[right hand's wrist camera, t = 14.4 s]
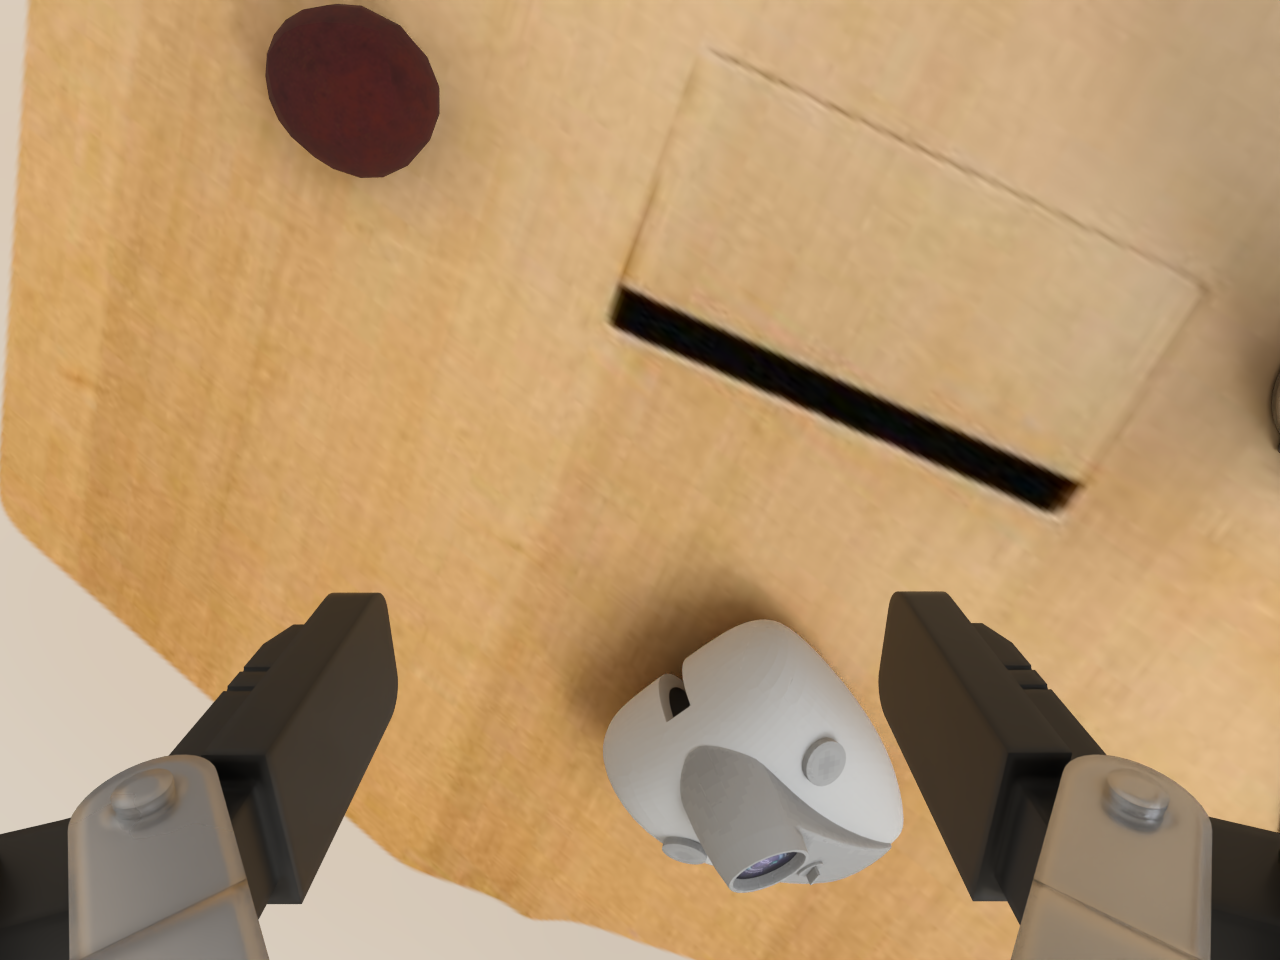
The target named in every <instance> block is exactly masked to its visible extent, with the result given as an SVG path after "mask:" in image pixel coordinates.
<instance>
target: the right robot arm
mask: <svg viewBox="0 0 1280 960" xmlns="http://www.w3.org/2000/svg"><path fill="white" fill-rule="evenodd" d="M1272 414H1273V419H1274V423H1275V425H1276V427H1277V429H1278V431H1279V433H1280V372H1279V374H1278V377H1277V380H1276V382H1275V386H1274V390H1273V395H1272ZM1278 452H1279V453H1280V445H1279V448H1278ZM397 691H398V676H397V669H396V662H395V655H394V649H393V642H392V635H391V629H390V622H389V615H388V609H387V604H386V600H385V598H384V596H383V595H382V594H381V593H331V594H329V595H328V596H327V597H326V598H325V599H324V600H323V602H322V603H321V604H320V605H319V607H318V608H317V609H316V610H315V612H314V613H313V614H312V616H311V617H310V618H309V619H308V621H307V622H306V623H305V624H304V625H292V626H291V627H289V628H287V629H286V630H284V631H283V632H281V633H280V634H278V635H277V636H275V637H274V638H272V639H271V640H269V641H267V642H266V643H264V644H263V645H262V646H261V648H260V649H259V650H258V651H257V652H256V653H255V655H254V656H253V657H252V658H251V659H250V661H249V662H248V663H247V664H246V665H245V666H244V671H243V672H239V673H238V675H237V676H236V677H235V678H234V679H233V681H232V682H231V683H230V684H229V685H228V689H227V691H223V692H222V693H221V695H220V696H219V697H218V698H217V699H216V701H215V702H214V703H213V704H212V705H211V707H210V708H209V709H208V710H207V711H206V712H205V713H204V715H203V716H202V717H201V718H200V719H199V721H198V722H197V723H196V724H195V725H194V727H193V728H192V729H191V730H190V731H189V732H188V734H187V735H186V736H185V737H184V738H183V739H182V741H181V742H180V743H179V744H178V745H177V746H176V748H175V749H174V750H173V751H172V752H171V754H170V755H169V756H164V757H160V758H156V759H152V760H149V761H146V762H143V763H140V764H138V765H135V766H133V767H131V768H128V769H126V770H124V771H123V772H120V773H119V774H117V775H115V776H113V777H112V778H110V779H109V780H107V781H105V782H104V783H103V784H101V785H100V786H99V787H97V788H96V789H95V790H94V791H92V792H91V793H90V794H89V795H88V796H87V797H86V798H85V799H84V800H83V801H82V802H81V804H80V805H79V806H78V807H77V809H76V810H75V812H74V813H73V815H72V817H71V818H68V819H64V820H60V821H56V822H52V823H47V824H43V825H39V826H34V827H30V828H26V829H22V830H17V831H13V832H8V833H4V834H0V960H269V957H268V953H267V950H266V946H265V943H264V939H263V935H262V932H261V928H260V925H259V921H258V919H259V918H260V916H261V914H262V912H263V910H264V908H265V906H266V904H302V902H303V900H304V898H305V896H306V894H307V892H308V890H309V888H310V886H311V883H312V881H313V879H314V877H315V875H316V873H317V871H318V869H319V867H320V865H321V863H322V861H323V859H324V857H325V854H326V852H327V850H328V848H329V846H330V844H331V842H332V840H333V838H334V836H335V834H336V832H337V830H338V827H339V825H340V823H341V821H342V819H343V817H344V815H345V813H346V811H347V809H348V807H349V805H350V803H351V800H352V798H353V796H354V794H355V792H356V790H357V788H358V786H359V784H360V782H361V780H362V778H363V775H364V773H365V771H366V769H367V767H368V765H369V763H370V761H371V759H372V757H373V755H374V753H375V751H376V748H377V746H378V744H379V742H380V740H381V738H382V736H383V734H384V732H385V730H386V728H387V726H388V724H389V721H390V719H391V717H392V715H393V712H394V709H395V705H396V699H397ZM879 695H880V701H881V706H882V709H883V713H884V715H885V717H886V719H887V722H888V724H889V726H890V728H891V730H892V732H893V734H894V736H895V738H896V740H897V743H898V745H899V747H900V749H901V751H902V753H903V755H904V757H905V759H906V762H907V764H908V766H909V768H910V770H911V772H912V774H913V776H914V778H915V780H916V783H917V785H918V787H919V789H920V791H921V793H922V795H923V797H924V799H925V801H926V804H927V806H928V808H929V810H930V812H931V814H932V816H933V818H934V820H935V823H936V825H937V827H938V829H939V831H940V833H941V835H942V837H943V839H944V841H945V844H946V846H947V848H948V850H949V852H950V854H951V856H952V858H953V860H954V863H955V865H956V867H957V869H958V871H959V873H960V875H961V877H962V879H963V881H964V884H965V886H966V888H967V890H968V892H969V894H970V896H971V898H972V900H973V901H1008V903H1009V905H1010V907H1011V909H1012V911H1013V913H1014V915H1015V916H1016V918H1017V920H1018V922H1019V924H1020V928H1019V932H1018V935H1017V939H1016V943H1015V946H1014V950H1013V953H1012V957H1011V960H1280V833H1277V832H1272V831H1268V830H1264V829H1259V828H1255V827H1251V826H1246V825H1242V824H1238V823H1233V822H1229V821H1225V820H1220V819H1216V818H1212V817H1208V815H1207V813H1206V812H1205V810H1204V809H1203V807H1202V806H1201V805H1200V803H1199V802H1198V801H1197V800H1196V799H1195V798H1194V797H1193V796H1192V795H1191V794H1190V793H1189V792H1188V791H1186V790H1185V789H1184V788H1183V787H1181V786H1180V785H1179V784H1177V783H1176V782H1175V781H1173V780H1171V779H1170V778H1168V777H1167V776H1165V775H1163V774H1161V773H1160V772H1158V771H1156V770H1154V769H1152V768H1149V767H1147V766H1145V765H1142V764H1140V763H1137V762H1134V761H1131V760H1128V759H1124V758H1120V757H1116V756H1109V755H1106V754H1105V753H1104V751H1103V750H1102V749H1101V748H1100V747H1099V745H1098V744H1097V743H1096V742H1095V741H1094V740H1093V738H1092V737H1091V736H1090V735H1089V734H1088V732H1087V731H1086V730H1085V729H1084V728H1083V726H1082V725H1081V724H1080V723H1079V722H1078V721H1077V719H1076V718H1075V717H1074V716H1073V715H1072V713H1071V712H1070V711H1069V710H1068V709H1067V707H1066V706H1065V705H1064V704H1063V703H1062V702H1061V700H1060V699H1059V698H1058V697H1057V696H1056V694H1055V693H1054V692H1053V691H1052V690H1051V689H1048V688H1047V684H1046V683H1045V681H1044V680H1043V679H1042V678H1041V677H1040V675H1039V674H1038V673H1037V672H1036V671H1035V670H1032V669H1031V665H1030V664H1029V662H1028V661H1027V660H1026V659H1025V658H1024V656H1023V655H1022V654H1021V653H1020V652H1019V650H1018V649H1017V648H1016V647H1015V646H1014V644H1013V643H1012V642H1010V641H1009V640H1007V639H1006V638H1004V637H1002V636H1001V635H999V634H998V633H996V632H995V631H993V630H992V629H990V628H989V627H987V626H986V625H984V624H983V623H971V622H970V621H969V620H968V619H967V617H966V616H965V615H964V613H963V612H962V611H961V610H960V608H959V607H958V606H957V605H956V603H955V602H954V601H953V599H952V598H951V597H950V596H949V595H948V594H947V593H946V592H895V593H894V594H893V595H892V597H891V600H890V603H889V609H888V615H887V622H886V629H885V636H884V642H883V649H882V656H881V663H880V670H879Z"/></svg>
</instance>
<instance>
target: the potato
mask: <svg viewBox="0 0 1280 960" xmlns="http://www.w3.org/2000/svg"><path fill="white" fill-rule="evenodd" d="M265 76H266V82H267V88H268V94H269V99H270V102H271V104H272V106H273V108H274V111H275V113H276V115H277V117H278V120H279V121H280V122H281V124H282V125H283V126H284V128H285V129H286V130H287V132H288V133H289V134H290V136H291V137H292V138H293V139H295V140H296V141H297V142H298V143H299V144H300V145H301V146H303V147H304V148H305V149H306V150H307V151H308V152H309V153H311V154H312V155H313V156H314V157H315V158H317V159H318V160H320V161H322V162H323V163H325V164H327V165H328V166H330V167H331V168H333V169H336V170H339V171H342V172H345V173H348V174H351V175H354V176H357V177H360V178H372V177H384V176H387V175H389V174H391V173H393V172H395V171H397V170H399V169H401V168H403V167H406V166H408V165H409V163H410V162H411V161H412V160H413V159H414V158H415V157H416V155H417V154H418V153H419V152H420V151H421V150H422V149H423V147H424V146H425V145H426V144H427V143H428V142H429V140H430V138H431V136H432V133H433V130H434V127H435V124H436V122H437V119H438V116H439V86H438V83H437V80H436V78H435V75H434V73H433V70H432V68H431V65H430V63H429V60H428V58H427V56H426V55H425V54H424V53H423V52H422V51H421V49H420V48H419V47H418V46H417V45H416V44H415V43H414V41H413V40H412V39H411V38H410V37H409V36H408V35H407V33H406V32H405V31H404V30H403V28H402V27H401V26H400V25H398V24H396V23H394V22H392V21H390V20H388V19H386V18H384V17H382V16H380V15H378V14H377V13H375V12H373V11H371V10H369V9H367V8H365V7H363V6H357V5H343V4H334V5H326V6H321V7H315V8H310V9H304V10H302V11H300V12H298V13H297V14H295V15H293V16H292V17H290V18H288V19H287V20H285V22H284V23H283V24H282V25H281V27H280V28H279V29H278V31H277V32H276V33H275V34H274V36H273V39H272V42H271V44H270V47H269V50H268V53H267V61H266V75H265Z"/></svg>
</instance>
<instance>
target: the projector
mask: <svg viewBox="0 0 1280 960" xmlns="http://www.w3.org/2000/svg"><path fill="white" fill-rule="evenodd" d="M682 675H683V681H682V680H681V679H680V678H678V677H676V676H675V675H672V674H664V675H662V676H661V677H659V678H658V679H657V680H655V681H654V682H652V683H651V684H650V685H648V686H647V687H646V688H644V689H643V690H642V691H641V692H639V693H638V694H637V695H636V696H634V697H633V698H632V699H631V700H630V701H628V702H627V703H626V704H625V705H624V706H623V707H622V708H621V709H620V710H619V711H618V712H617V713H616V715H615V716H614V718H613V719H612V721H611V723H610V724H609V727H608V729H607V732H606V735H605V739H604V745H603V758H604V764H605V768H606V771H607V775H608V778H609V780H610V782H611V784H612V787H613V789H614V791H615V793H616V794H617V796H618V798H619V799H620V801H621V803H622V804H623V806H624V807H625V808H626V810H627V811H628V812H629V813H630V815H631V816H632V817H633V818H634V819H635V820H636V821H637V822H638V823H639V824H640V825H641V826H642V827H643V828H644V829H645V830H646V831H647V832H648V833H649V834H651V835H652V836H653V837H655V838H656V839H657V840H659V841H660V842H661V843H663V847H662V850H663V852H664V853H665V854H666V855H667V856H669V857H670V858H672V859H674V860H677V861H680V862H683V863H688V864H702V863H706V864H709V865H713V866H714V867H715V869H716V870H717V872H718V873H719V875H720V876H721V877H722V879H723V880H724V882H725V883H726V884H727V886H728V887H729V889H730V890H731V891H733V892H737V893H746V892H753V891H757V890H760V889H764V888H767V887H769V886H772V885H774V884H777V883H779V882H784V883H799V884H810V885H812V884H813V883H825V882H833V881H837V880H840V879H843V878H846V877H848V876H850V875H853V874H855V873H857V872H859V871H861V870H863V869H864V868H866V867H868V866H869V865H871V864H872V863H874V862H875V861H877V860H878V859H879V858H881V857H882V856H883V855H884V854H885V853H886V852H888V851H889V850H890V848H891V843H892V842H893V841H894V840H895V839H896V838H897V837H898V836H899V834H900V833H901V831H902V828H903V808H902V800H901V795H900V790H899V786H898V782H897V778H896V775H895V772H894V769H893V766H892V763H891V761H890V758H889V756H888V753H887V751H886V749H885V747H884V745H883V742H882V740H881V738H880V736H879V735H878V733H877V731H876V729H875V728H874V726H873V724H872V723H871V721H870V719H869V717H868V716H867V715H866V713H865V712H864V710H863V709H862V707H861V706H860V704H859V703H858V701H857V700H856V699H855V697H854V696H853V695H852V693H851V692H850V691H849V689H848V688H847V687H846V685H845V684H844V683H843V682H842V681H841V679H840V678H839V677H838V676H837V675H836V673H835V672H834V671H833V670H832V669H831V667H830V666H829V665H828V664H827V663H826V662H825V661H824V660H823V658H822V657H821V656H820V655H819V654H818V653H817V652H816V651H815V650H814V649H813V648H812V647H811V646H810V645H809V644H808V643H807V642H806V641H805V640H804V639H802V638H801V637H800V636H799V635H798V634H797V633H795V632H794V631H793V630H791V629H790V628H789V627H787V626H785V625H783V624H782V623H779V622H777V621H773V620H767V619H762V620H754V621H749V622H746V623H743V624H741V625H738V626H736V627H734V628H732V629H730V630H728V631H726V632H724V633H723V634H721V635H719V636H718V637H716V638H715V639H713V640H712V641H710V642H709V643H707V644H706V645H704V646H703V647H701V648H700V649H698V650H697V651H695V652H694V653H693V654H691V655H690V656H688V657H687V658H686V659H685V660H684V662H683V666H682Z"/></svg>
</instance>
